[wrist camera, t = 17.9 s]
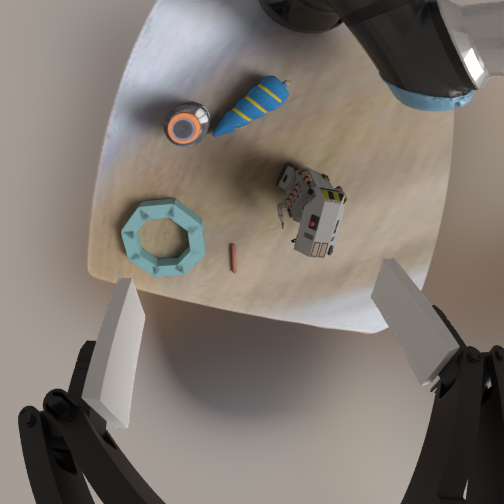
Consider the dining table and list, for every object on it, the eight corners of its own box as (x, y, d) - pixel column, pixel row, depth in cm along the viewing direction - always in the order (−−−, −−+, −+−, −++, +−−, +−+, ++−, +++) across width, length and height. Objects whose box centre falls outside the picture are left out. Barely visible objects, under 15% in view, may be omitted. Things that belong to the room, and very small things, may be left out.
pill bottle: (205, 97, 37) (202, 99, 28) (214, 131, 41) (213, 144, 31) (169, 108, 37) (154, 113, 28) (178, 141, 41) (167, 157, 31)
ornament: (201, 127, 36) (285, 67, 31) (203, 119, 40) (278, 65, 35) (223, 151, 39) (305, 95, 34) (223, 141, 43) (296, 90, 38)
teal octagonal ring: (119, 204, 45) (115, 209, 43) (199, 196, 46) (199, 201, 44) (136, 270, 53) (133, 277, 51) (206, 266, 55) (206, 273, 53)
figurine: (261, 210, 50) (277, 257, 37) (289, 154, 44) (319, 183, 32) (303, 226, 52) (330, 273, 40) (332, 175, 47) (372, 210, 35)
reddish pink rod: (231, 243, 53) (231, 245, 52) (235, 243, 53) (235, 245, 52) (232, 271, 56) (232, 274, 56) (236, 271, 56) (236, 273, 56)
